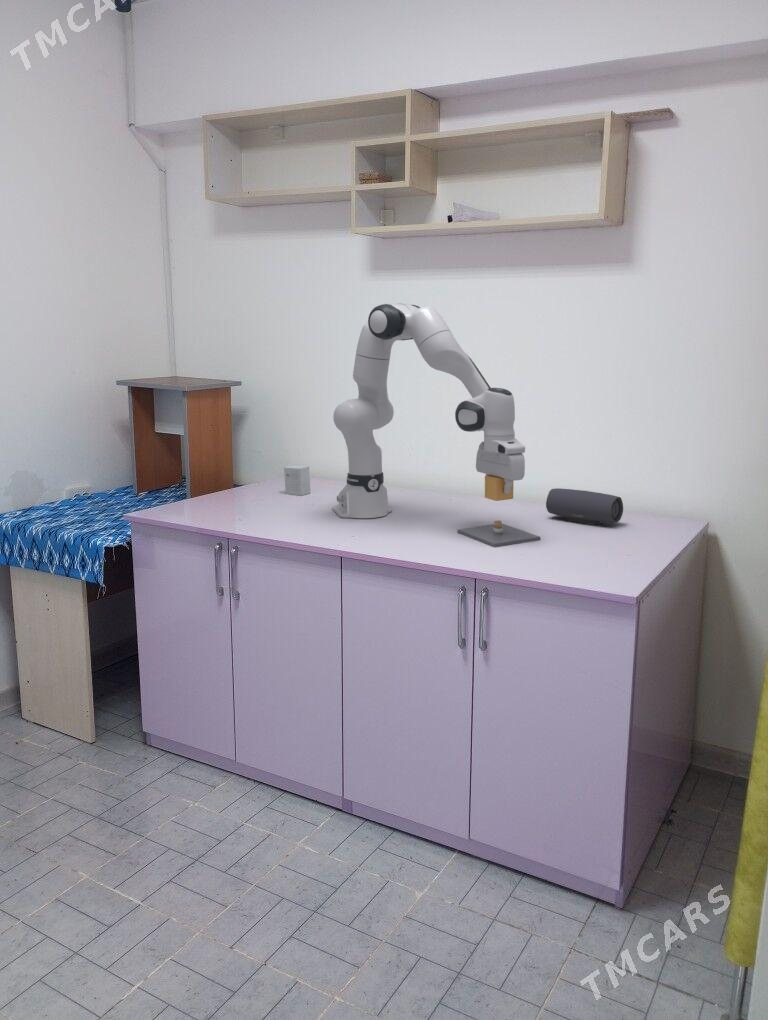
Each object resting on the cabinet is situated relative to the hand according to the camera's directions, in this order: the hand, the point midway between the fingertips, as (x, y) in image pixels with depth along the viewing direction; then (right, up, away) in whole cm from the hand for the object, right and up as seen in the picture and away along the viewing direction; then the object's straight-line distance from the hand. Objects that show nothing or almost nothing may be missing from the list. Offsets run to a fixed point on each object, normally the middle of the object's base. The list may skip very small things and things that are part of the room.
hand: (499, 491), depth 244 cm
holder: (0, -13, +3) cm, 14 cm away
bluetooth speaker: (+30, -9, +20) cm, 37 cm away
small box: (-67, 0, +72) cm, 98 cm away
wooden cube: (0, -2, 0) cm, 2 cm away
